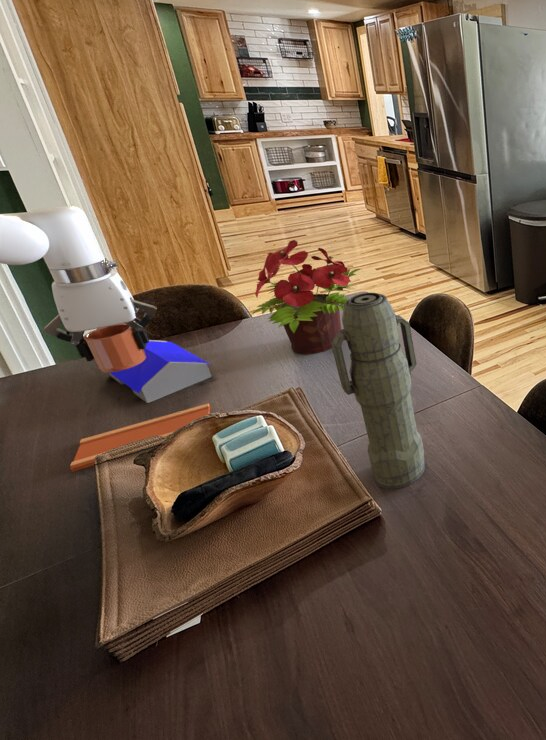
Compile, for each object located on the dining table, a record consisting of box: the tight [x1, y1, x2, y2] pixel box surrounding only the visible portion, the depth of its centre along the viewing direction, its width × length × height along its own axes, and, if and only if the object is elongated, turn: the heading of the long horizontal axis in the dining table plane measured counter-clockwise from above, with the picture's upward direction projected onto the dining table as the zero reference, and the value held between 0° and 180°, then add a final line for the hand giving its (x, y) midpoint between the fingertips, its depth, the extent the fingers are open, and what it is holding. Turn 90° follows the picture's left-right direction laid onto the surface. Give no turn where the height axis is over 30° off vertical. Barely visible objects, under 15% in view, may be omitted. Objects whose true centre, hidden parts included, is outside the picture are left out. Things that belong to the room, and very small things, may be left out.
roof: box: [108, 339, 213, 404], centre depth 114 cm, size 22×14×7 cm, turn 60°
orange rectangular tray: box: [69, 402, 211, 473], centre depth 96 cm, size 20×10×1 cm, turn 126°
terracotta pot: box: [83, 323, 146, 374], centre depth 97 cm, size 7×7×8 cm
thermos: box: [331, 292, 426, 490], centre depth 80 cm, size 9×12×35 cm
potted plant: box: [251, 239, 363, 355], centre depth 124 cm, size 30×27×30 cm
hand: (118, 351), depth 97 cm, fingers closed on terracotta pot, 7 cm apart
